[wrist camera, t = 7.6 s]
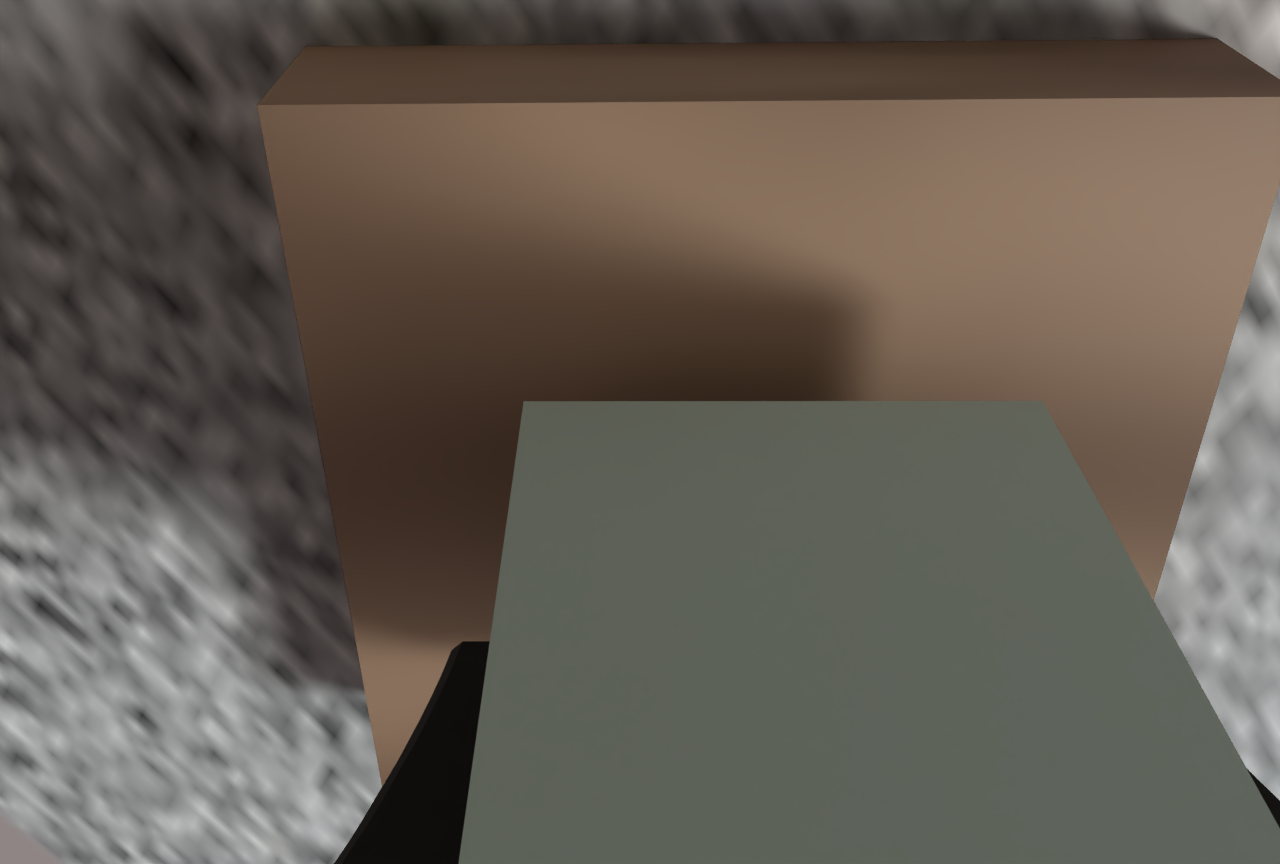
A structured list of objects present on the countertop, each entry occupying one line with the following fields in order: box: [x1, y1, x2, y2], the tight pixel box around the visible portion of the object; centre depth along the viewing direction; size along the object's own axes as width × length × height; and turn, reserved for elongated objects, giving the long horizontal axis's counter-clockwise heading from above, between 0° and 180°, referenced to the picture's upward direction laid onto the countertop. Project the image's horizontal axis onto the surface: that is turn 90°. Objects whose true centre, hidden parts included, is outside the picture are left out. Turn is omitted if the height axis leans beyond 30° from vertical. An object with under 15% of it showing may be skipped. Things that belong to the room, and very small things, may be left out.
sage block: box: [458, 401, 1280, 864], centre depth 10 cm, size 5×5×6 cm
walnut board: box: [257, 39, 1280, 786], centre depth 15 cm, size 10×10×2 cm
